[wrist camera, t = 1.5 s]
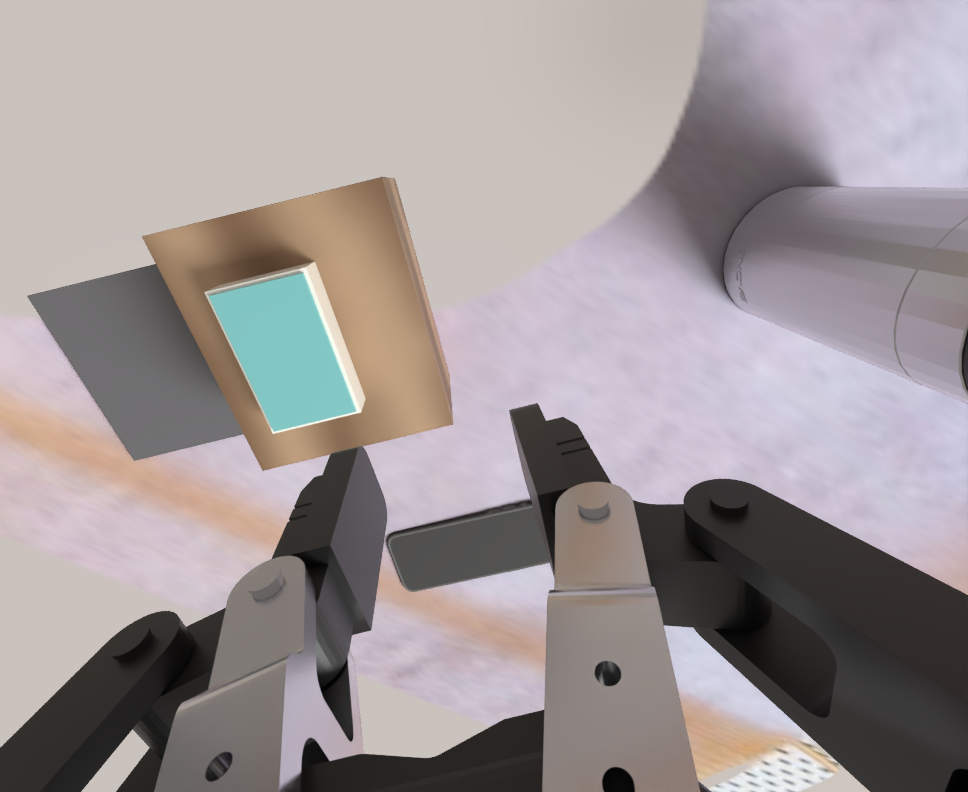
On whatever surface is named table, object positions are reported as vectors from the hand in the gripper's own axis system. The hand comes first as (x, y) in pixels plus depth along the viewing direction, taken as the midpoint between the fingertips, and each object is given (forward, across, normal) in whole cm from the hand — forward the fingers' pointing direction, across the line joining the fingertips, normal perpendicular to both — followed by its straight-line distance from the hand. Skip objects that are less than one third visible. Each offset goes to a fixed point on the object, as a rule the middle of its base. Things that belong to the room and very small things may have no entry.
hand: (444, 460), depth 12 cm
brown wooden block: (+23, +7, 0) cm, 24 cm away
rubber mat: (+23, +20, +1) cm, 30 cm away
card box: (+15, +8, 0) cm, 17 cm away
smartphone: (+24, +3, +24) cm, 34 cm away
